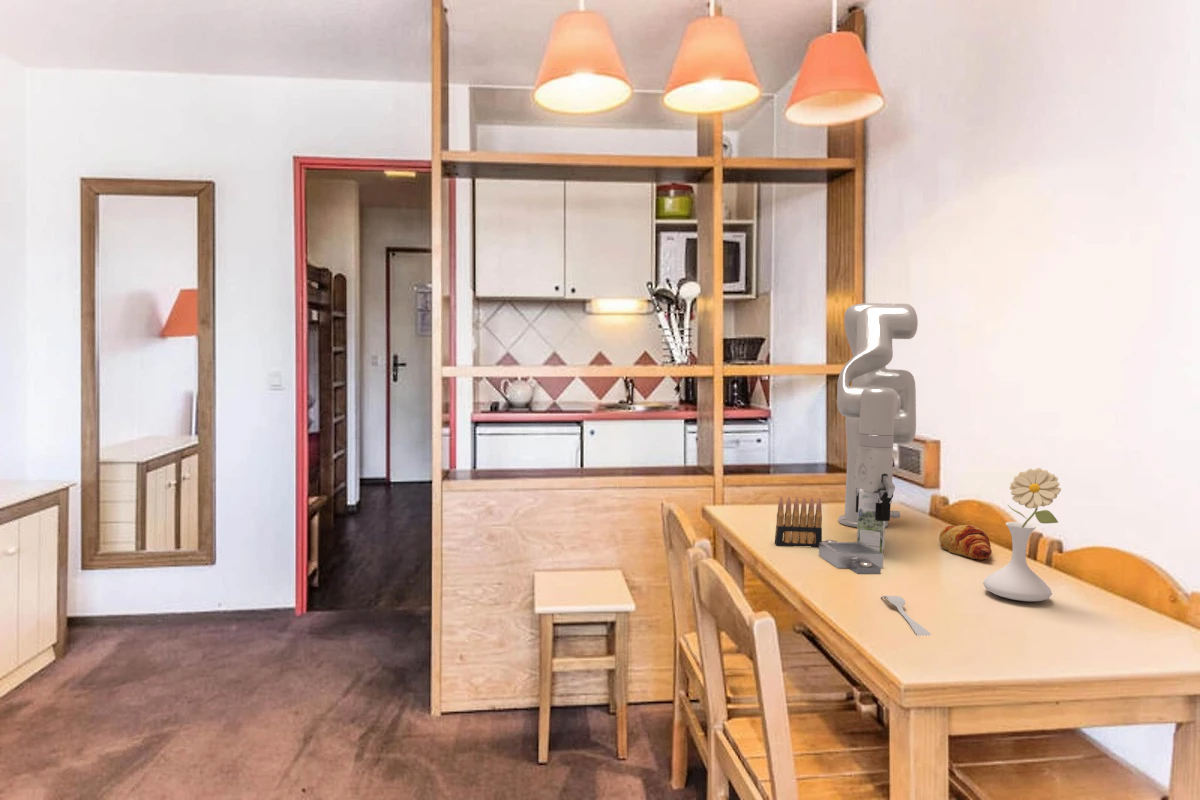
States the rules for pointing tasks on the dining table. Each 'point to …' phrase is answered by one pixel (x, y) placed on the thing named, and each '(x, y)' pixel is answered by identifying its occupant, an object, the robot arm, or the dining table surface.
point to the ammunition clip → (798, 524)
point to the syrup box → (869, 522)
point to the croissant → (966, 541)
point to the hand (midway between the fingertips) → (872, 516)
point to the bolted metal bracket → (852, 556)
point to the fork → (899, 604)
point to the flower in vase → (1025, 538)
